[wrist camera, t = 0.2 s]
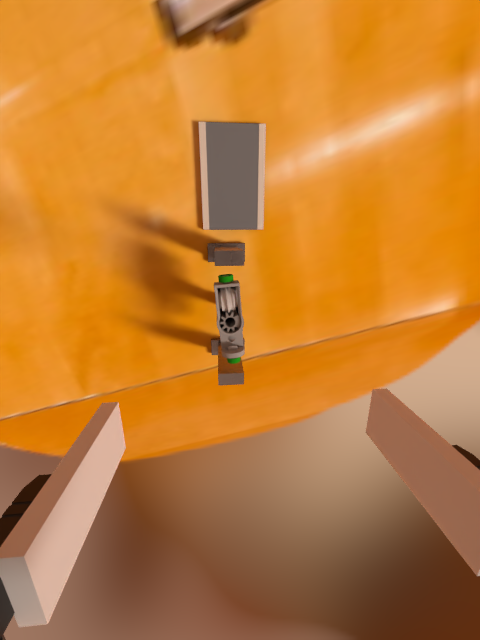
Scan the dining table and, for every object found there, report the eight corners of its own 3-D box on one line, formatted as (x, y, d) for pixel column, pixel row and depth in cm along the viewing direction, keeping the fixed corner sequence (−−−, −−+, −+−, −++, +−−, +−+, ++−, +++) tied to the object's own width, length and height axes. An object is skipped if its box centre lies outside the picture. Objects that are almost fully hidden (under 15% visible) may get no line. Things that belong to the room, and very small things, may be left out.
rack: (207, 243, 36) (204, 246, 26) (244, 243, 36) (253, 245, 27) (212, 353, 41) (210, 389, 31) (244, 352, 41) (252, 386, 32)
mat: (199, 123, 32) (198, 121, 31) (264, 125, 32) (265, 123, 32) (203, 229, 35) (203, 229, 35) (262, 229, 36) (263, 229, 35)
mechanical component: (220, 335, 40) (221, 365, 30) (213, 267, 37) (211, 278, 27) (240, 333, 40) (247, 363, 31) (234, 265, 37) (240, 275, 27)
